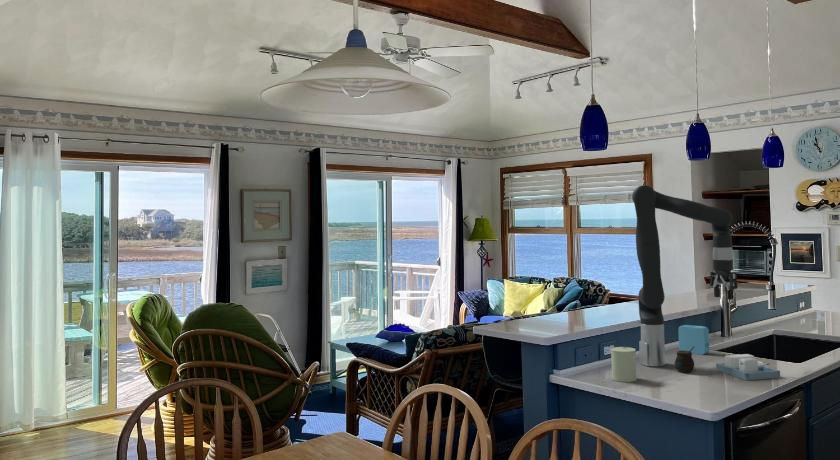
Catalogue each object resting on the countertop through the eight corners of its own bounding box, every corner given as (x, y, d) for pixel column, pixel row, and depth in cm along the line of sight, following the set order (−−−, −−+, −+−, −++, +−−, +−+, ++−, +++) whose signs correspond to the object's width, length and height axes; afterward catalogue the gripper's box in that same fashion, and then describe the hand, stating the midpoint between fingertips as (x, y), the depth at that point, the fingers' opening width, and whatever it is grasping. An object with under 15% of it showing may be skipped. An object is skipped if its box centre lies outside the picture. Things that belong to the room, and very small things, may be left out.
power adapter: (762, 370, 245) (761, 355, 245) (772, 373, 240) (771, 358, 240) (737, 373, 242) (737, 357, 242) (746, 375, 237) (746, 360, 237)
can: (637, 377, 245) (636, 346, 245) (635, 382, 237) (634, 350, 237) (613, 375, 249) (612, 345, 249) (610, 381, 241) (609, 349, 241)
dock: (746, 380, 235) (745, 364, 235) (716, 369, 253) (715, 354, 253) (780, 377, 237) (779, 361, 237) (747, 367, 255) (747, 352, 255)
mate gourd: (671, 370, 255) (670, 345, 255) (689, 369, 256) (688, 344, 256) (680, 374, 248) (679, 348, 248) (698, 373, 248) (698, 347, 248)
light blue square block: (709, 353, 283) (708, 326, 283) (705, 355, 280) (704, 328, 280) (683, 350, 292) (682, 324, 292) (678, 351, 289) (678, 325, 289)
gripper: (703, 258, 264) (704, 296, 264) (725, 259, 250) (726, 300, 250) (720, 257, 265) (721, 296, 265) (742, 259, 251) (743, 299, 251)
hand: (723, 298), depth 257 cm, fingers open, 8 cm apart
